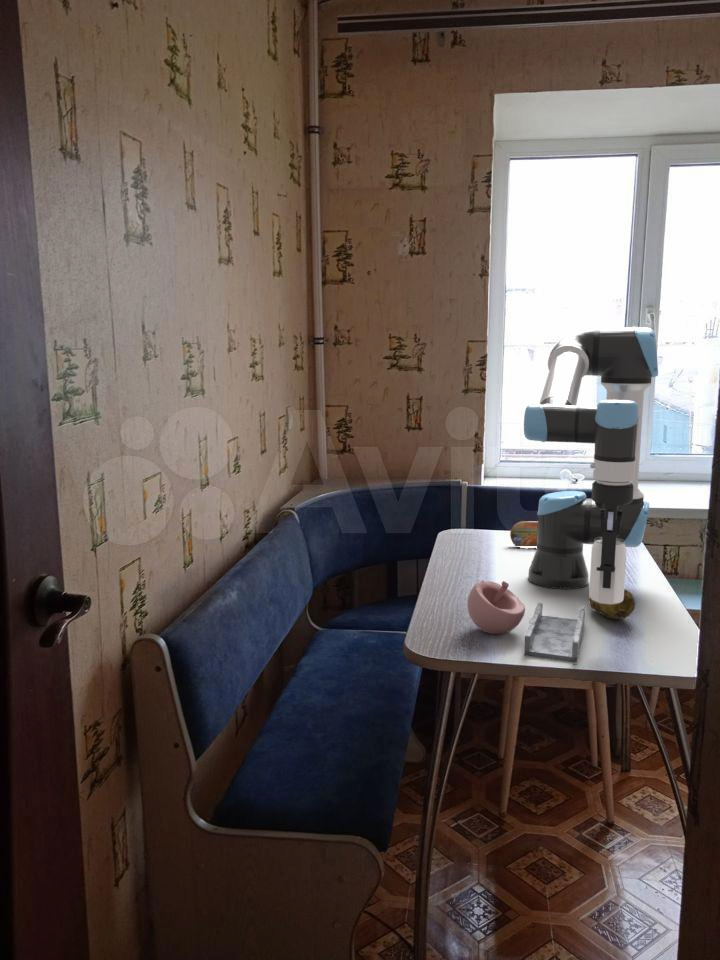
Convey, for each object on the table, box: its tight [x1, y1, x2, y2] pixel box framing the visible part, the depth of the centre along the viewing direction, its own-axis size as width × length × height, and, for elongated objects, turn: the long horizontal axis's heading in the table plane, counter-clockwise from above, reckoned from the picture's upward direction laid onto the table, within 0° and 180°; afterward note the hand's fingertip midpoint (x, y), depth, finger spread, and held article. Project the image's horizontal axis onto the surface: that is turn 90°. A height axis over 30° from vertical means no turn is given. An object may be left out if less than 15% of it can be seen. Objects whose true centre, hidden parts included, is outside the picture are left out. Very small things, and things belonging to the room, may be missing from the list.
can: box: [588, 537, 628, 605], centre depth 149 cm, size 6×6×12 cm
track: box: [523, 601, 586, 663], centre depth 158 cm, size 22×10×4 cm, turn 160°
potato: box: [588, 588, 636, 620], centre depth 170 cm, size 8×13×8 cm, turn 174°
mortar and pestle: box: [466, 580, 526, 635], centre depth 161 cm, size 12×12×11 cm
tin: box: [509, 520, 538, 547], centre depth 233 cm, size 15×3×8 cm, turn 88°
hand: (606, 597), depth 150 cm, fingers closed on can, 6 cm apart
